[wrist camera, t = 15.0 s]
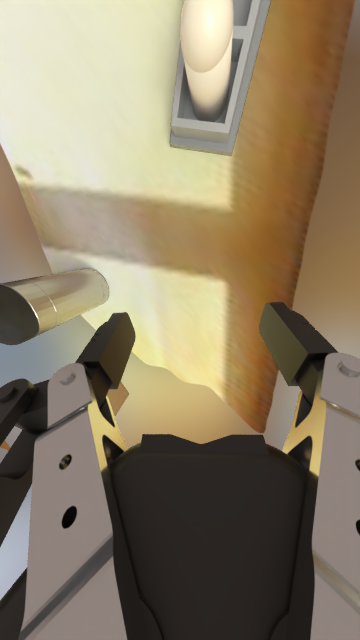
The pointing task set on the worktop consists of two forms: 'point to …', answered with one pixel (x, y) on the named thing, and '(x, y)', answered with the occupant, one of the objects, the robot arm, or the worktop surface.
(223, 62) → the cream capsule shape
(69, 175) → the worktop surface
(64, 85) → the worktop surface
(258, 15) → the grey divided tray
